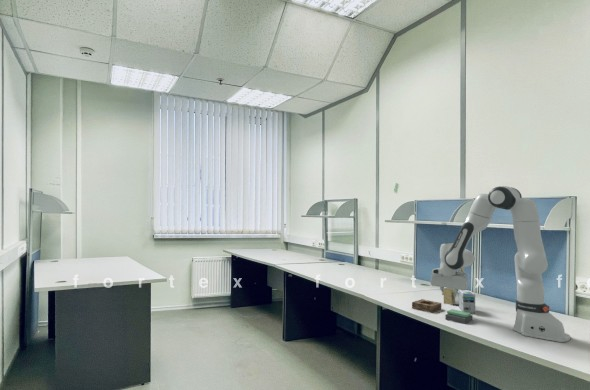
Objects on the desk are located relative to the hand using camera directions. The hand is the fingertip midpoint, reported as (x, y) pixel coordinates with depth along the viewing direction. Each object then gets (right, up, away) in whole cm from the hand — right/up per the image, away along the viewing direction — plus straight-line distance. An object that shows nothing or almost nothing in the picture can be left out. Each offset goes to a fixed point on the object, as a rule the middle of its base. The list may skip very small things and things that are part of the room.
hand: (449, 295), depth 209 cm
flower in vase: (+14, -11, +22) cm, 28 cm away
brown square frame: (-10, -10, +8) cm, 16 cm away
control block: (-1, -9, -14) cm, 16 cm away
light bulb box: (+13, -10, +6) cm, 17 cm away
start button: (-1, -8, -14) cm, 16 cm away
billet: (0, -4, 0) cm, 4 cm away
